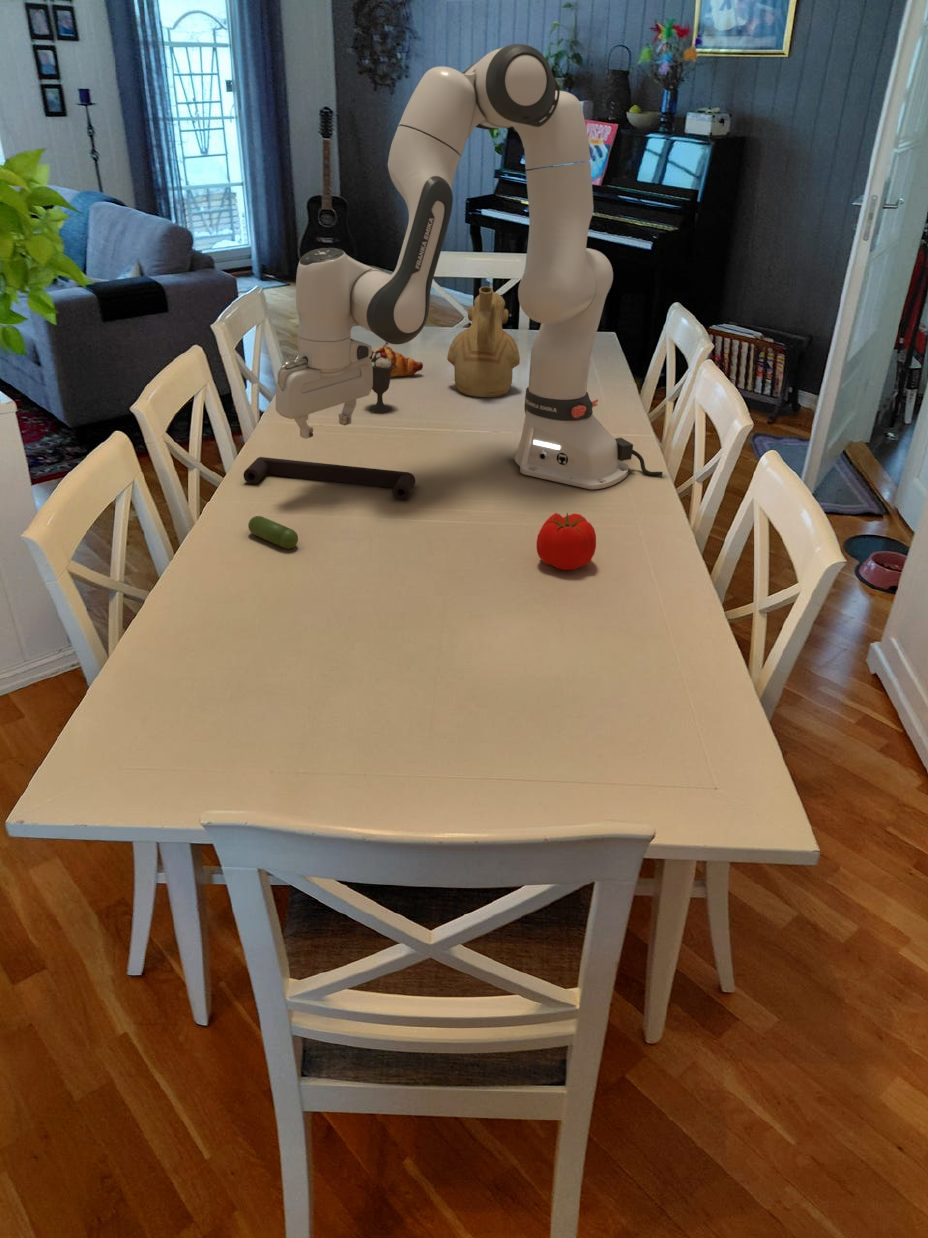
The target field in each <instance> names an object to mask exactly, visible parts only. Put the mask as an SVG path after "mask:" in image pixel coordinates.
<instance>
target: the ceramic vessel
mask: <svg viewBox="0 0 928 1238" xmlns="http://www.w3.org/2000/svg"><path fill="white" fill-rule="evenodd" d="M478 293H479V294H478V295H477V296H476V297H475V299H474V300H473V303H474V305H471V306H469V308H468V311H467V318H468V321H469V322H471V324H470V326H469V327H468V328H466V329H464V330H462V331H460V332H459V333H457V335H456V336H455V337H454V338H453V339H452V342H451V344H450V346H449V348H448V351H447V357H446V359H447V362H449V363H450V364H451V365H452V366H453V369H454V370H453V371H454V372H453V373H454V375H453V376H454V384H455V387H456V389H457V390H458V391H459V392H460V393H462V394H463V395H467V396H469V397H476V398H499V397H501V396H504V395H505V394H507V393H508V392H509V390H510V389H511V387H512V384H513V373H514V372H513V371H514V370H513V369H514V368H516V367H518V366H519V365H520V362H521V359H520V352H519V348H518V345H517V343H516V340H515V339H514V337H513V336H512V335H510V333H507V332H506V331H505V330H504V329H503V325H505V324H507V322H508V321H509V310H508V309H507V308H505V306H506V301H505V299H504V298H503V296H502V295H500V294H499V293H497V292H495V291H494V290H493V288H492V287H491V286H481V287H479V288H478Z"/></svg>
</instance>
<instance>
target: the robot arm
mask: <svg viewBox="0 0 928 1238" xmlns="http://www.w3.org/2000/svg"><path fill="white" fill-rule="evenodd" d="M512 127H513V129H514V130H515V131H516V132H517V134H518V135H519V139H520V140H521V143H522V147H523V149H524V167H525V180H526V189H527V190H526V191H527V202H528V214H529V215H528V217H529V219H528V221H529V222H528V223H529V226H528V237H527V247H526V258H525V266H524V271H523V275H522V277H521V280H520V281H519V284H518V289H517V298H518V302H519V305H520V308H521V310H522V311H523V313H524V315H526V316H527V317H528V318H529V319H530V320H531V321H533V322H536V323H539V324H540V326H539V329H538V332H537V335H536V337H535V339H534V341H533V343H532V347H531V351H530V363H529V373H528V375H529V376H528V387H527V388H526V389H525V396H524V415H525V416H524V420H523V421H524V422H523V428H522V432H521V436H520V441H519V443H518V447H517V448H516V449H517V450H516V453H515V455H514V458H513V459H514V462H515V463H516V464H517V465H518V466H519V473H521V474H522V475H524V476H529V477H533V478H538V479H543V480H546V481H551V482H555V483H560V484H565V485H570V486H574V487H577V488H581V489H582V488H583V489H586V490H600V489H605V488H609V487H611V486H614V485H616V484H618V483H620V482H621V481H623V480H624V479H625V478H626V477H627V476H628V475H629V465H627V464H626V463H623V461H630V460H632V458H633V457H632V456H635V457H636V459H638V460H639V464H640V469H641V472H642V473H643V474H645V475H647V476H650V477H657V476H659V477H662V476H663V473H664V472H663V471H650V470H648V469H646V464H645V459H644V457H643V455H641V454H640V453H639V452H638V451H636V450H634V444H633V443H631V442H630V441H628V440H627V439H625V438H623V437H614V436H613V435H612V434H611V433H610V432H609V431H608V429H606V427H605V426H603V424H602V423H601V422H600V421H599V419H597V417H596V416H595V415H594V414H593V413H594V412H593V408H594V407H597V406H598V405H599V404H598V402H599V399H595V400H593V401H592V400H591V398H590V396H589V393H588V383H589V374H590V367H591V366H590V365H591V357H592V351H593V347H594V344H595V339H596V335H597V333H598V328H599V326H600V321H601V318H602V314H603V310H604V305H605V302H606V300H607V299H606V298H607V296H608V294H609V292H610V289H612V285H613V281H614V271H613V267H612V264H611V262H610V260H609V259H608V258H607V256H606V255H605V254H604V253H603V252H601V251H599V250H597V249H593V248H590V247H589V248H588V247H587V243H588V235H589V229H590V224H591V220H592V218H593V215H594V207H595V206H594V194H593V193H594V192H593V179H592V177H593V175H592V163H591V151H590V142H589V136H588V129H587V125H586V119H585V116H584V112H583V107H582V105H581V102H580V100H579V99H578V98H577V96H575V94H573V93H570V92H568V91H564V90H561V88H560V85H559V84H558V82H557V80H556V79H555V77H554V74H553V71H552V68H551V66H550V64H549V62H548V60H547V58H546V57H545V56H544V55H543V54H542V52H540V50H538V49H537V48H536V47H533V46H531V45H528V44H524V43H511V44H509V45H506V46H503V47H499V48H497V49H494V50H492V51H490V52H488V53H486V54H485V55H484V57H482V58H481V59H478V60H477V61H475V62H474V63H473V64H471V65H470V66H469V67H468V68H466V69H465V70H464V71H463V72H461V71H459V70H457V69H455V68H453V67H449V66H433V67H431V68H430V69H428V70H427V71H426V72H425V73H424V74H423V75H422V78H421V79H420V81H419V82H418V84H417V85H416V87H415V89H414V91H413V92H412V94H411V97H410V98H409V101H408V102H407V105H406V106H405V109H404V111H403V113H402V115H401V118H400V121H399V123H398V126H397V128H396V131H395V133H394V136H393V138H392V141H391V145H390V149H389V154H388V161H387V169H388V173H389V174H388V175H389V177H390V180H391V182H392V184H393V186H394V188H395V189H396V190H397V191H398V193H399V194H400V195H401V197H402V198H403V200H404V201H405V204H406V207H407V211H408V212H407V213H408V223H407V227H406V231H405V235H404V239H403V243H402V246H401V250H400V253H399V257H398V260H397V264H396V266H395V269H394V271H393V272H392V273H391V274H390V273H387V272H386V271H385V270H384V271H383V270H382V269H378V268H375V267H374V266H369V265H367V264H364V263H362V262H360V261H358V260H356V259H354V258H353V257H351V256H350V255H348V254H347V253H346V252H345V251H344V250H343V249H341V248H336V247H321V248H316V249H313V250H309V251H308V252H306V253H305V254H303V255H302V256H301V258H300V259H299V262H298V265H297V268H296V275H295V277H296V278H295V309H296V311H297V315H298V326H297V330H296V334H297V335H296V337H297V338H296V339H297V359H294V360H287V361H284V362H283V365H282V366H281V367H280V368H279V370H277V376H276V377H277V379H276V385H275V387H276V388H275V411H276V413H277V414H278V415H279V416H281V417H284V418H286V419H289V420H294V422H295V424H297V426H298V427H299V437H301V438H303V439H305V440H308V439H310V438H312V437H314V427H312V426H310V425H308V422H307V421H309V415H311V414H313V413H316V412H320V411H323V410H326V409H330V408H332V407H335V406H339V405H342V404H343V408H342V410H341V413H339V414H338V423H339V425H340V426H341V425H342V426H344V427H346V426H347V425H350V424H352V415H353V413H354V411H355V408H356V407H357V400H358V399H361V398H365V397H367V396H370V394H371V392H372V391H373V390H372V386H373V368H372V362H371V360H370V359H369V357H371V355H372V351H373V347H372V345H370V344H368V343H365V342H362V341H359V340H357V339H354V338H351V337H352V336H351V335H352V332H351V331H352V329H353V328H354V327H361V328H362V329H365V330H367V331H368V332H372V333H373V334H374V335H376V336H377V337H379V338H380V339H381V340H383V341H384V342H385V343H386V342H387V343H388V344H391V345H403V344H407V343H409V342H411V341H412V340H414V339H415V338H416V337H418V335H419V334H420V333H421V332H422V330H423V329H424V327H425V325H426V323H427V321H428V316H429V314H430V313H429V312H430V302H431V301H430V300H431V291H432V286H433V285H432V284H433V280H434V277H435V273H436V270H437V267H438V263H439V260H440V256H441V254H442V253H441V252H442V249H443V245H444V243H445V238H446V235H447V231H448V228H449V224H450V220H451V215H452V211H453V204H454V195H453V184H454V180H455V176H456V172H457V169H458V166H459V163H460V161H461V158H462V155H463V153H464V149H465V148H466V144H467V141H468V139H469V137H470V136H471V134H472V132H473V131H474V129H476V128H478V129H482V130H488V131H489V130H490V131H491V130H493V131H494V130H498V129H499V130H500V129H508V128H512Z"/></svg>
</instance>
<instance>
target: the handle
mask: <svg viewBox="0 0 928 1238" xmlns="http://www.w3.org/2000/svg"><path fill="white" fill-rule="evenodd" d="M265 475H267V476H277V477H286V478H295V479H306V480H314V481H315V480H316V481H324V482H332V483H343V484H350V485H351V484H353V485H362V486H369V487H370V486H372V487H380V488H388V489H389V488H390V489H392V495H393V497H394V498H395V499H397V500H398V501H404V500H407V499H408V498H409V495H410V494H411V492H412V490H413V488H414V487H415V485H416V481H417V479H416V477H415V474H413V473H412V472H409V471H401V470H390V469H381V468H371V467H362V466H353V465H343V464H332V463H323V462H314V461H313V462H312V461H303V460H294V459H285V458H276V457H274V458H273V457H267V456H265V457H264V456H259V457H257V458H256V459H255V460H253V462H252V463H251V464H250V465H248V467H247V468H246V469H245V470H244V471H243V479H244V481H245V483H248V484H249V485H255V484H257V483H258V482H260V480H261V479H262V478H263V477H264V476H265Z"/></svg>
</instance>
